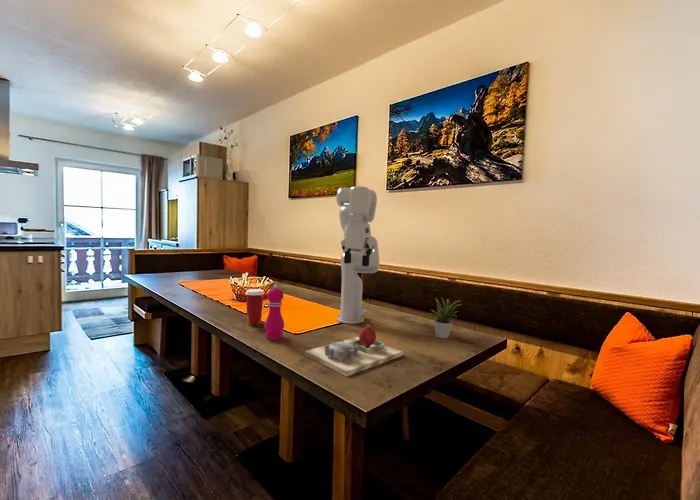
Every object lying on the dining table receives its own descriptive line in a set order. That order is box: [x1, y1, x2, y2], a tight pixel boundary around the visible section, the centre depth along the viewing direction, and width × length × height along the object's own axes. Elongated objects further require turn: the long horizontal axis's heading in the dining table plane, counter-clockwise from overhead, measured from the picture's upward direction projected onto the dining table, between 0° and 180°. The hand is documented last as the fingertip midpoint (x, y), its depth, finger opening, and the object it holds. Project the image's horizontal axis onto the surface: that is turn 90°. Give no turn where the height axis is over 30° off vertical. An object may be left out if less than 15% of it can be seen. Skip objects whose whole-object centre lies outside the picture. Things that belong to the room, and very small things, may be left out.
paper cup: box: [245, 288, 265, 326], centre depth 146 cm, size 8×8×14 cm
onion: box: [358, 324, 377, 348], centre depth 118 cm, size 6×6×8 cm
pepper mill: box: [264, 283, 285, 340], centre depth 129 cm, size 7×7×20 cm
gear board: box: [304, 336, 404, 377], centre depth 114 cm, size 26×20×4 cm
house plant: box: [427, 296, 463, 339], centre depth 138 cm, size 14×14×16 cm
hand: (356, 264), depth 131 cm, fingers open, 9 cm apart
